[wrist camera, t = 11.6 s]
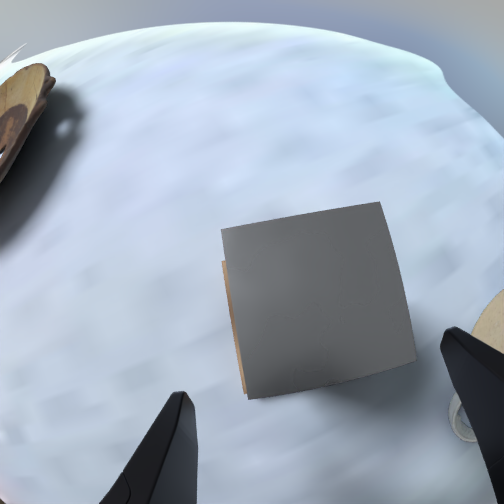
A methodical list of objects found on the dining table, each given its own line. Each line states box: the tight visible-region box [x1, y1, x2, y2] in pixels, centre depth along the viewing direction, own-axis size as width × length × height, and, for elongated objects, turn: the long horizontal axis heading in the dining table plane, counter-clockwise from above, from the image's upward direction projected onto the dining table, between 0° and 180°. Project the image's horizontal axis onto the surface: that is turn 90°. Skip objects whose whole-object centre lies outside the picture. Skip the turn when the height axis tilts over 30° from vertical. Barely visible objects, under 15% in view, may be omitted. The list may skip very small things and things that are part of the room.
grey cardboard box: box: [221, 202, 417, 400], centre depth 12 cm, size 6×5×9 cm
